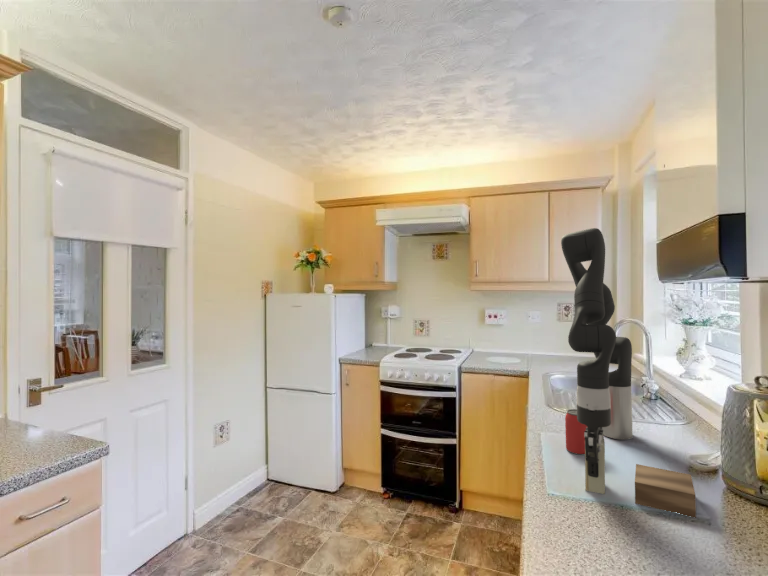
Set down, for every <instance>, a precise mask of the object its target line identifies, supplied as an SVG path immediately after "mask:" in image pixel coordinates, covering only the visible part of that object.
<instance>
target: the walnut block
mask: <svg viewBox="0 0 768 576" xmlns="http://www.w3.org/2000/svg"><path fill="white" fill-rule="evenodd" d="M692 477H693V476H692V474H690V473H685V472H684V473H683V472H679V471H676V470H675V471H674V470H669V469H665V468H664V469H663V468H659V467H653V466H648V465H644V464H638V463H635V473H634V501H635V502H634V504H636V505H639V504H640V506H644V507H648V508H652V509H655V510H660V511H664V510H666V511H665V512H668V511H671V512H670V513H672V512H677V513H680V514H679V515H681V514H683V515H682V516H685V515H687V516H686V517H689V516H691V517H690V518H693V517H695V518H694V519H696V518H697V509H696V500H697V499H696V493H695V492H696V491H695V488H694V487H695V486H694V483H693V479H692Z"/></svg>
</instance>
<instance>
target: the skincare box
mask: <svg viewBox="0 0 768 576" xmlns="http://www.w3.org/2000/svg"><path fill="white" fill-rule="evenodd" d="M605 444H606V442H605V437H604V436H603V440H602V441H601V445H599V444H597V448H598V446H601V452H600V453H599V462H598V471H599V476H598V477H597V478H595V477H591V476H589V475H588V461H586V459H585V460H584V464H585V465H584V466H585V467H584V468H585V469H584V476H585V477H584V479H585V480H584V482H585V488H584V490H585V492H586V491H587V492H592V493H596V494H602V495H606V494H605V493H606V484H605V483H606V471H605V470H606V455H605V454H606V449H605V448H606V445H605ZM590 456H594V457H595V454H594V453H591V452H590ZM585 457H586V452H585V454H584V458H585Z"/></svg>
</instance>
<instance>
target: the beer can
mask: <svg viewBox="0 0 768 576" xmlns="http://www.w3.org/2000/svg"><path fill="white" fill-rule="evenodd" d="M564 421H565V449H566V450H567V451H568V452H569V453H572V454H575V455H580V456H581V455H582V456H585V437H584V431H586V428H588V427H587V426H586V425H584V424H581V423H580V422H578V420H577V408H575V409H574V408H573V409H572V408H571V409H567V410H566V414H565V418H564Z"/></svg>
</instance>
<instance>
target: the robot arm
mask: <svg viewBox="0 0 768 576" xmlns="http://www.w3.org/2000/svg"><path fill="white" fill-rule="evenodd" d="M560 246H561V250H562V254H563V256H564V259H565V261H566V264H567V266H568V269H569V271H570V273H571V276H572V278H573V283H574V285H575V290H574V298H573V299H574V317H573V321H572V324H571V327H570V329H569V333H568V335H567V337H568V338H567V339H568V340H567V341H568V344H569V347H570V349H572V350H573V351H574V352H576V353H593V354H594V357H595V358H594V359H593V360H592V359H591V360H585V361H581V362H579V363H577V366H576V378H577V380H576V382H577V383H576V384H577V385H576V387H577V388H576V409H577V420H578V422H580V423H581V424H584V425H586V426H587V427H588V428H586V431H584V437H585V452H586V457H585V456H584V458H585V459H586V461H588V475H589V476H591V477H595V478H597V477H598V476H599V471H598V462H599V453H600V452H601V446H598V448H597V444H599V445H601V441H602V440H603V437H604V436H605V437H608V438H610V439H615V440H623V441H624V440H632V439H633V434H634V433H633V404H632V403H633V402H632V401H633V398H632V397H633V396H632V395H633V394H632V362H633V361H632V357H633V346H632V343H631V340H630V339H629V338H628V337H626V336H625V337H624V336H617V333H616V330H615V329H614V328H613V327H612V326H611V325H608V323H609V321H610V320H611V319H612V318H613V317H612V316H613V315H614V313H615V310H616V305H615V301H614V298H613V294H612V291H611V289H610V287H609V286H607V284H605V283H604V277H605V267H606V266H605V265H606V264H605V263H606V243H605V239H604V235H603V233H602V231H601V230H600V229H599V228H597V227H594V228H587V229H583V230H577V231H574V232H569V233H566V234H564V235H563V236H562V237H561V241H560ZM589 261H590V264H589V267H587V269H586V268H585V266H584V265H583V263H584V262H589ZM611 364H612V365H617V368H616V369H615V370H613V371H609V369H610V365H611ZM590 452H591V453H594V454H595V457H594V456H590Z"/></svg>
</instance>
